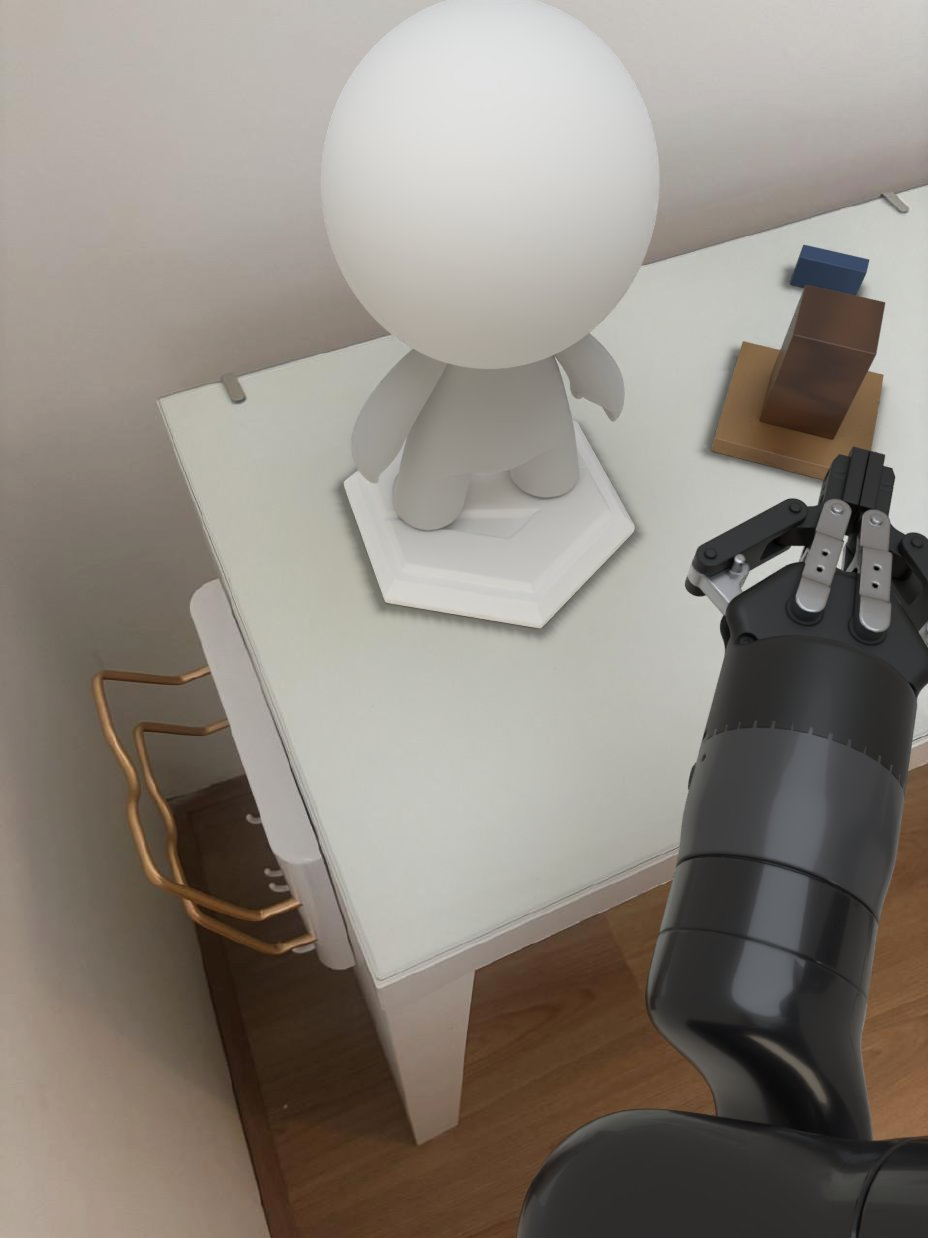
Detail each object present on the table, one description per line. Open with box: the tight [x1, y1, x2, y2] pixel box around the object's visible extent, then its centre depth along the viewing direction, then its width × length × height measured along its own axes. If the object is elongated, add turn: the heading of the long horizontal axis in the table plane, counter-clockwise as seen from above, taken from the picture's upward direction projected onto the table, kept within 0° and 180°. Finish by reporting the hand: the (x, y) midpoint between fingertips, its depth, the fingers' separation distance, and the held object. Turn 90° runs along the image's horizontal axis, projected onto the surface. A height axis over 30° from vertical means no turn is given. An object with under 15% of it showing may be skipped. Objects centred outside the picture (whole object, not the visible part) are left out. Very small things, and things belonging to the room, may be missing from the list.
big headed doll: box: [320, 0, 661, 629], centre depth 57 cm, size 20×23×35 cm
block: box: [710, 285, 886, 481], centre depth 72 cm, size 12×12×10 cm
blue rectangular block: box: [789, 244, 870, 296], centre depth 84 cm, size 6×2×3 cm, turn 69°
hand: (861, 461), depth 43 cm, fingers closed
